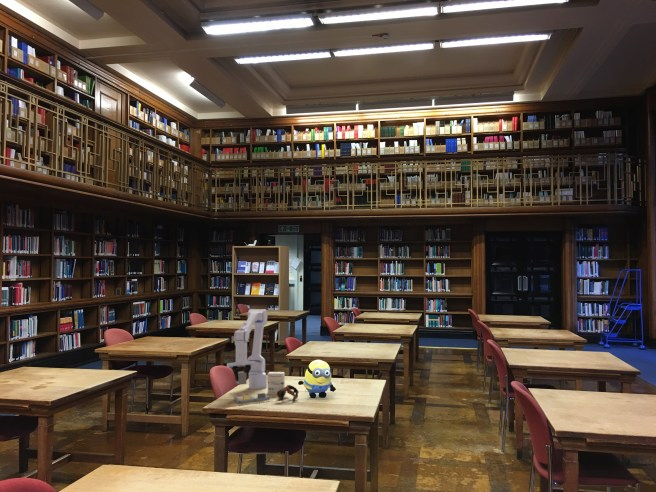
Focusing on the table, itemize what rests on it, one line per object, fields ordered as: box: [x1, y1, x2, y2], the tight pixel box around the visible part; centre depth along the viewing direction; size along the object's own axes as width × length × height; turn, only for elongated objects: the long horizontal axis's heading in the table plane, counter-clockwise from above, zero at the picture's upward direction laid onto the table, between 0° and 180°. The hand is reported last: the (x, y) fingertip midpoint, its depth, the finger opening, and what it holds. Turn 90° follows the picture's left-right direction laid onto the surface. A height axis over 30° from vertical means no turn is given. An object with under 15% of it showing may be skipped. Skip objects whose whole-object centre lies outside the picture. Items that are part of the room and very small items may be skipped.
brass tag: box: [242, 394, 252, 400], centre depth 247 cm, size 4×1×2 cm, turn 117°
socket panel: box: [233, 393, 271, 407], centre depth 251 cm, size 16×8×2 cm, turn 117°
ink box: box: [266, 371, 286, 395], centre depth 265 cm, size 9×5×12 cm, turn 84°
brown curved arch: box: [276, 384, 299, 402], centre depth 254 cm, size 12×10×8 cm
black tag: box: [257, 392, 266, 398], centre depth 250 cm, size 4×1×2 cm, turn 117°
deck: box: [229, 391, 249, 398], centre depth 261 cm, size 8×8×1 cm
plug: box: [235, 370, 247, 385], centre depth 256 cm, size 4×5×6 cm
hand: (241, 380), depth 256 cm, fingers closed on plug, 4 cm apart
